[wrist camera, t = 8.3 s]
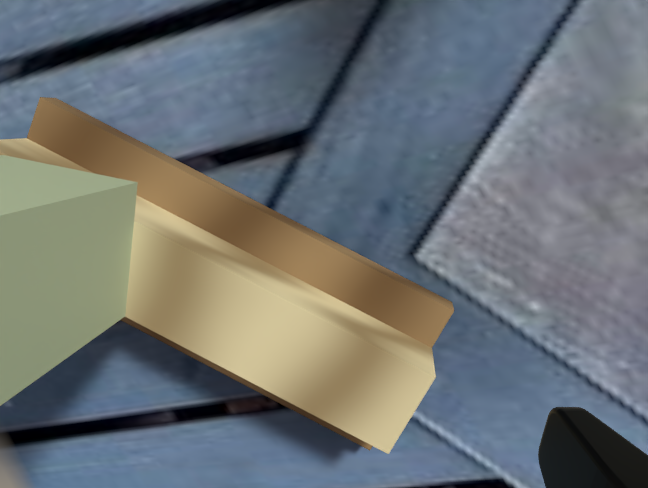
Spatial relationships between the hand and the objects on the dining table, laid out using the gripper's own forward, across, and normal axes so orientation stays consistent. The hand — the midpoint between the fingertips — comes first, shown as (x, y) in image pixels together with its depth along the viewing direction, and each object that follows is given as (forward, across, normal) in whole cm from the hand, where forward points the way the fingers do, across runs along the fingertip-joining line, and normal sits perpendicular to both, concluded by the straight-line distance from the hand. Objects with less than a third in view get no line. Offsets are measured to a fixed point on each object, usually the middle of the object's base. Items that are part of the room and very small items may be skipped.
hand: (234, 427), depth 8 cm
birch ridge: (+14, +3, +6) cm, 16 cm away
